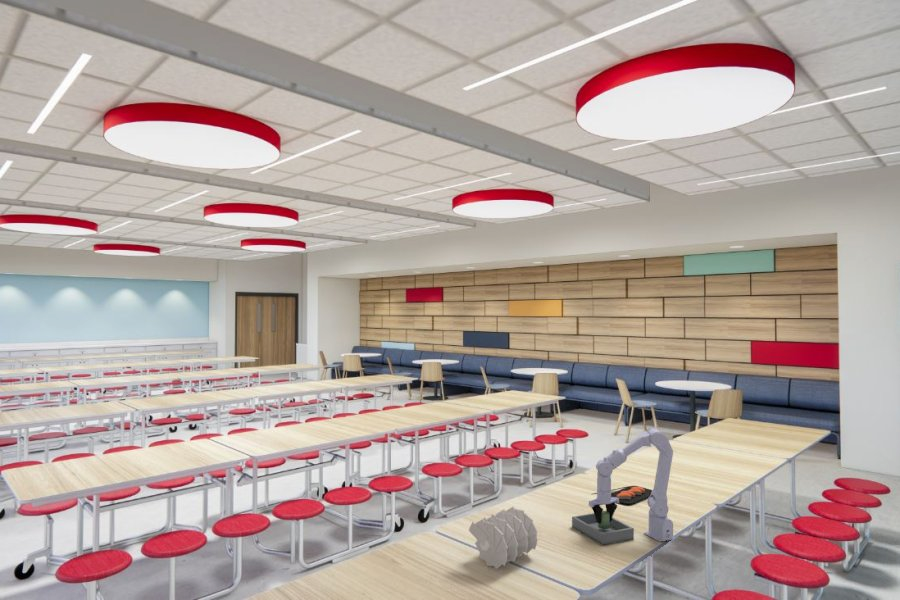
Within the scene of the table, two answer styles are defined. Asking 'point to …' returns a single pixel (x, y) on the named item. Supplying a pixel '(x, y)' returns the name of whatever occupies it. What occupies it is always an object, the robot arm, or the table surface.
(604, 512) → the green rounded tapered piece
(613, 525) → the bin
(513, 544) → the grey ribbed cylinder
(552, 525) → the table surface
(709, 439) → the table surface
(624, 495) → the sushi plate
